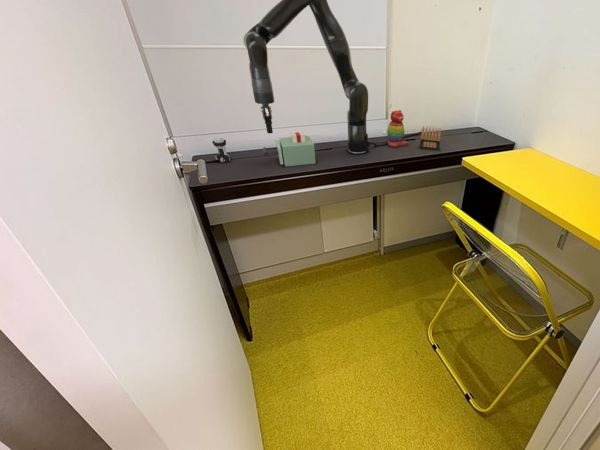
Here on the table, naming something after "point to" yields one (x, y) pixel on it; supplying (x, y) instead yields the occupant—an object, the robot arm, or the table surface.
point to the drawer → (275, 152)
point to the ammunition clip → (430, 139)
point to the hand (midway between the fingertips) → (270, 132)
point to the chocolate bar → (298, 137)
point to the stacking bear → (396, 130)
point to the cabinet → (297, 152)
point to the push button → (221, 150)
